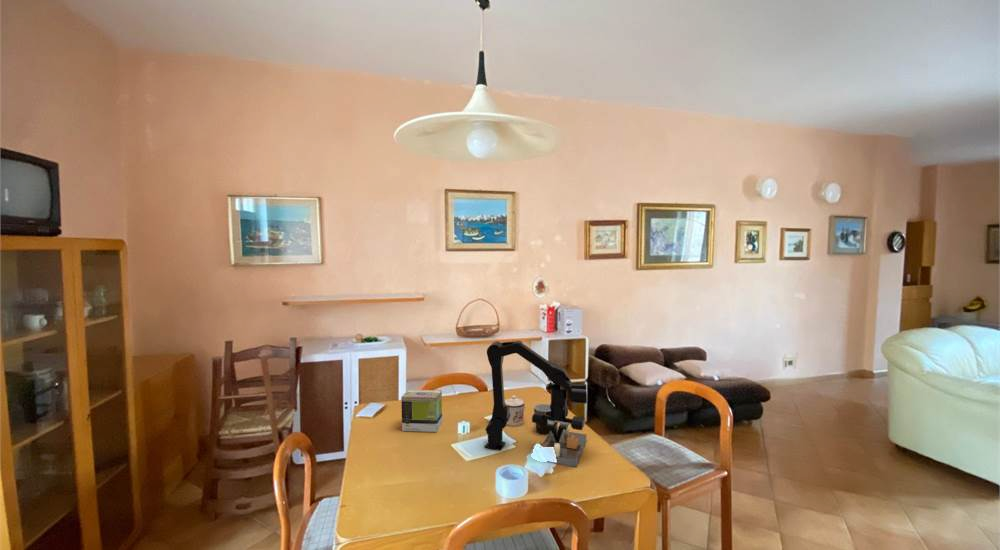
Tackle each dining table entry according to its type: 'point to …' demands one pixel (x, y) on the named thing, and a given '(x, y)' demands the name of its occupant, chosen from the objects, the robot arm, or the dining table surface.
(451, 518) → the dining table surface
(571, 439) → the block
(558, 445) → the cylinder
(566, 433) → the peg
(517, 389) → the dining table surface
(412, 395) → the tea box
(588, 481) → the dining table surface
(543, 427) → the coffee mug
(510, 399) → the teacup with lid
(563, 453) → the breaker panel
